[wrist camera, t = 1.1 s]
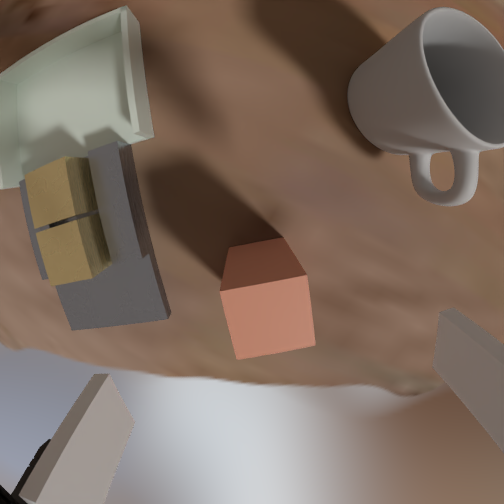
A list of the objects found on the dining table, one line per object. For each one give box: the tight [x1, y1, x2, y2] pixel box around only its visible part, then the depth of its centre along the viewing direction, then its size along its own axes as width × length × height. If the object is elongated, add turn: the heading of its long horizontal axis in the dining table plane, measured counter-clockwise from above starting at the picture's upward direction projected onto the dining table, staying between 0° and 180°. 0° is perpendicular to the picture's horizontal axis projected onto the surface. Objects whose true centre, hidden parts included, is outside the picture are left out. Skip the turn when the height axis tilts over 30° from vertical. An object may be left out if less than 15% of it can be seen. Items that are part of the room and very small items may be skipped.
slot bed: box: [19, 141, 171, 330], centre depth 21 cm, size 14×10×3 cm
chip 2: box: [36, 213, 112, 286], centre depth 19 cm, size 4×4×4 cm
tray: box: [0, 5, 154, 189], centre depth 18 cm, size 11×14×3 cm
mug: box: [347, 7, 504, 206], centre depth 15 cm, size 12×8×11 cm
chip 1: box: [24, 156, 98, 229], centre depth 18 cm, size 4×4×4 cm
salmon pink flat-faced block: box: [220, 237, 315, 360], centre depth 19 cm, size 4×4×9 cm
